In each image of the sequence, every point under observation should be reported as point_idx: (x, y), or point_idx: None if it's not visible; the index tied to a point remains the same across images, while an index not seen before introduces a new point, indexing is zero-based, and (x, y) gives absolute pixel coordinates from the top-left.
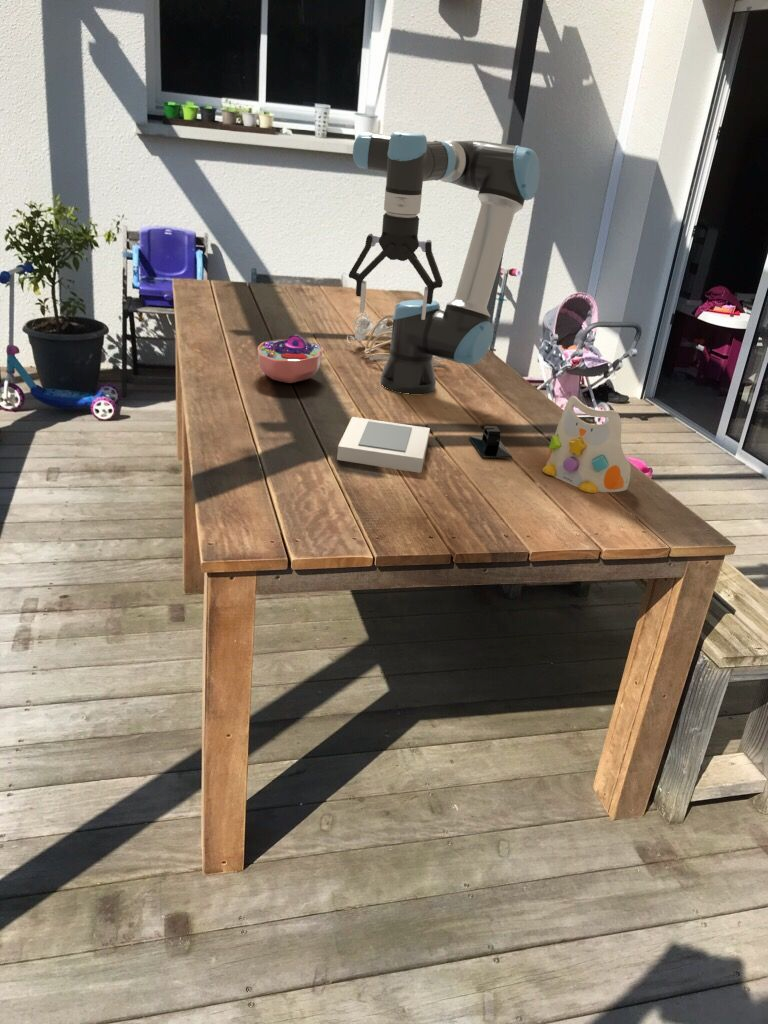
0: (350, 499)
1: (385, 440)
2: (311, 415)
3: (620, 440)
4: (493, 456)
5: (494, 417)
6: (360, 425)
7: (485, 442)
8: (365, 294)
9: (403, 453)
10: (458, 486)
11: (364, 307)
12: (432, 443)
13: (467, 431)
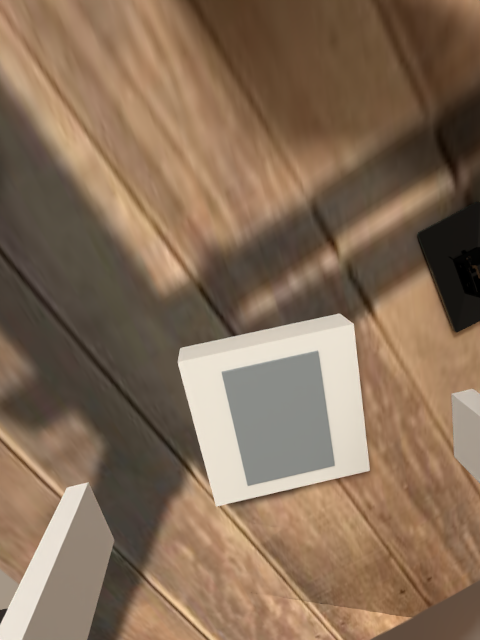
0: (280, 565)
1: (287, 444)
2: (59, 303)
3: None
4: (476, 322)
5: (465, 33)
6: (213, 396)
7: (462, 277)
8: (49, 585)
9: (332, 469)
10: (419, 449)
11: (86, 504)
12: (347, 302)
13: (408, 186)
